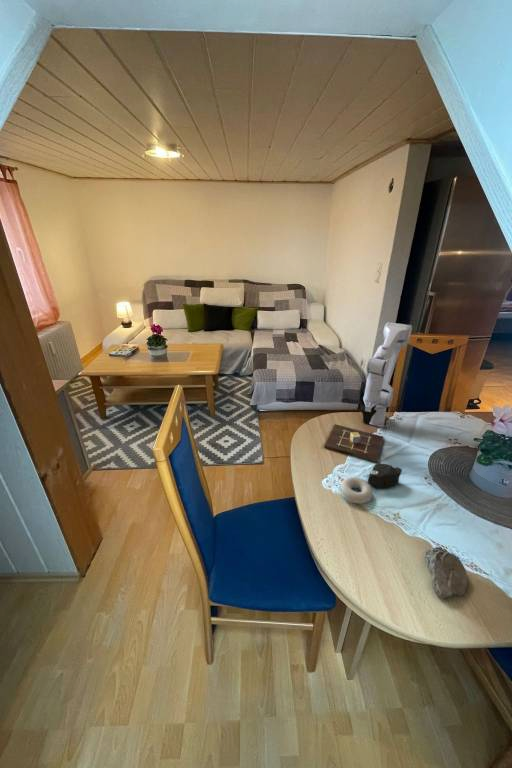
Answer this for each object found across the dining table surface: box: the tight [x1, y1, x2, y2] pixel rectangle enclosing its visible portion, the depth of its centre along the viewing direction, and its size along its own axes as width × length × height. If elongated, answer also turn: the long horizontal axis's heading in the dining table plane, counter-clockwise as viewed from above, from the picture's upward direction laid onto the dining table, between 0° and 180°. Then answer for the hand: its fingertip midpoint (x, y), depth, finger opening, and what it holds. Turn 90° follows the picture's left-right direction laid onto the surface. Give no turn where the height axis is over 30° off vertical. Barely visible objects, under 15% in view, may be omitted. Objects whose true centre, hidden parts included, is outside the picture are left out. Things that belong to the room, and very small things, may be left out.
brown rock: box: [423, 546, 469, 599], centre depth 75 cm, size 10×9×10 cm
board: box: [324, 423, 384, 464], centre depth 121 cm, size 16×20×1 cm
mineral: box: [367, 463, 403, 490], centre depth 101 cm, size 10×9×6 cm
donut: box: [340, 476, 373, 505], centre depth 98 cm, size 10×4×10 cm
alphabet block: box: [350, 432, 361, 443], centre depth 120 cm, size 3×3×3 cm
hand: (368, 418), depth 121 cm, fingers open, 7 cm apart
